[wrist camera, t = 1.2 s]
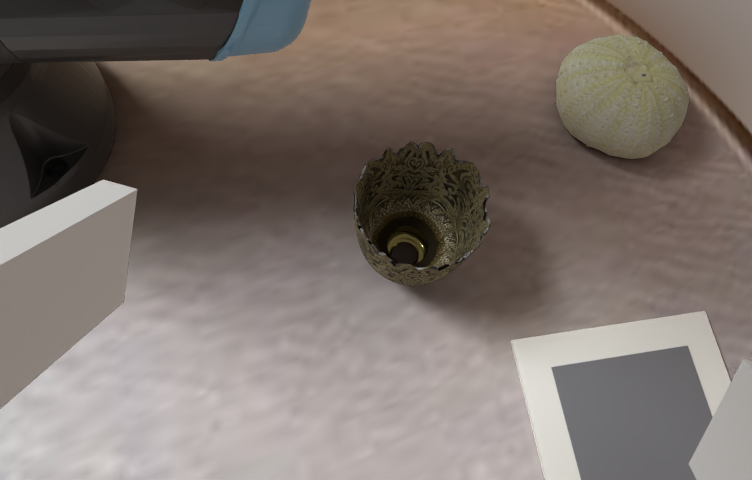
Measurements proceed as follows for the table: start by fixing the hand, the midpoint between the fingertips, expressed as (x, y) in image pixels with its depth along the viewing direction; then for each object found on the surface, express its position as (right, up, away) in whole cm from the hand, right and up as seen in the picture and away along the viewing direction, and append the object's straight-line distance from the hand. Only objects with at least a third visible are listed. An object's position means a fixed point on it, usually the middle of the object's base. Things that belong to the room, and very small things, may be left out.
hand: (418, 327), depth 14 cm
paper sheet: (+15, -9, +25) cm, 31 cm away
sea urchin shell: (+16, +11, +34) cm, 39 cm away
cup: (+1, +1, +28) cm, 28 cm away
